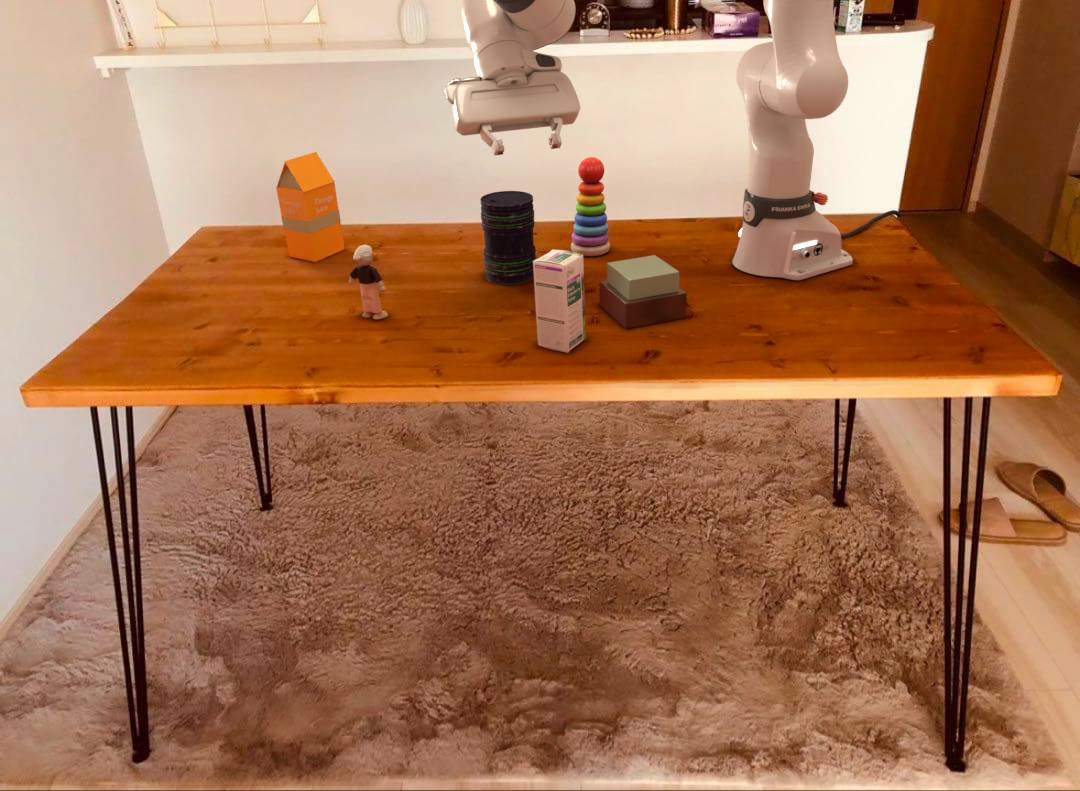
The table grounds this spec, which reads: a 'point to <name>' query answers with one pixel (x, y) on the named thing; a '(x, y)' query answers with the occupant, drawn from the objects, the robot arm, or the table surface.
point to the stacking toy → (590, 211)
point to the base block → (642, 307)
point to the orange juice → (309, 209)
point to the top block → (642, 277)
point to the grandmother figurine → (368, 283)
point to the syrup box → (560, 300)
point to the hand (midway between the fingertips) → (528, 149)
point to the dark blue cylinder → (508, 236)
